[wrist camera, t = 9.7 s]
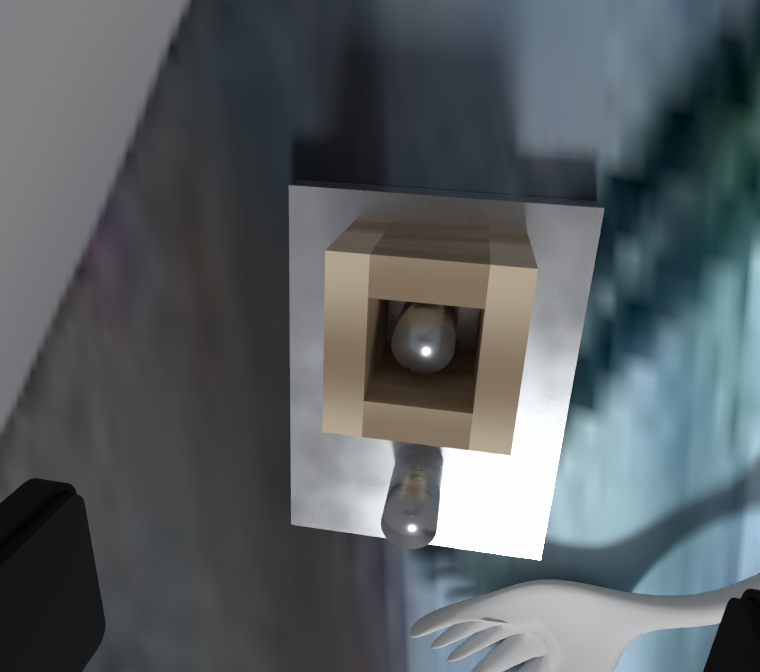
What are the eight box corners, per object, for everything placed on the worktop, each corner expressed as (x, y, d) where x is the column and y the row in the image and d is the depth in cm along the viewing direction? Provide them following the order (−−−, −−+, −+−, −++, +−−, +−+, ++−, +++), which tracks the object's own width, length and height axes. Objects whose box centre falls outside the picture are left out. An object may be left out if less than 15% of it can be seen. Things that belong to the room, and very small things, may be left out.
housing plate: (300, 179, 24) (250, 204, 19) (597, 200, 23) (629, 233, 17) (300, 504, 30) (262, 590, 24) (538, 537, 28) (549, 635, 23)
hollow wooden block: (357, 217, 23) (325, 250, 18) (526, 230, 22) (538, 269, 17) (352, 368, 25) (322, 432, 20) (505, 385, 24) (510, 455, 19)
